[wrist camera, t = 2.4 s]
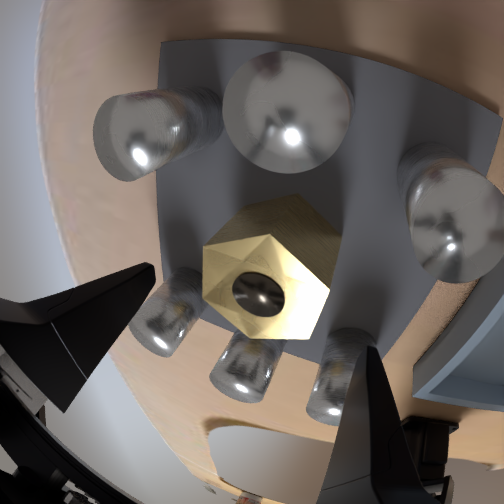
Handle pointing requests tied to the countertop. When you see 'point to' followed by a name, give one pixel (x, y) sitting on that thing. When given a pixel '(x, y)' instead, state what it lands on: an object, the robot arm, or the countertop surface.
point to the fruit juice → (249, 499)
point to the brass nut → (271, 268)
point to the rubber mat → (323, 182)
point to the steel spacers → (291, 161)
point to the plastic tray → (468, 352)
